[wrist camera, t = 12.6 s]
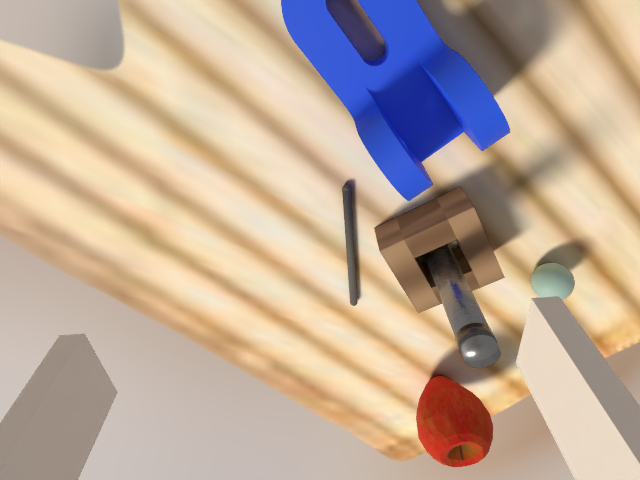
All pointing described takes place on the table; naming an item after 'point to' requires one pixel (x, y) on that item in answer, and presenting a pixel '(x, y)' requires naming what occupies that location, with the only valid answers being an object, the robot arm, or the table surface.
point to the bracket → (398, 86)
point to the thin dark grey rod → (350, 243)
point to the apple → (453, 423)
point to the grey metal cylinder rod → (462, 309)
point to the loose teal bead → (552, 281)
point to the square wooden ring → (430, 233)
